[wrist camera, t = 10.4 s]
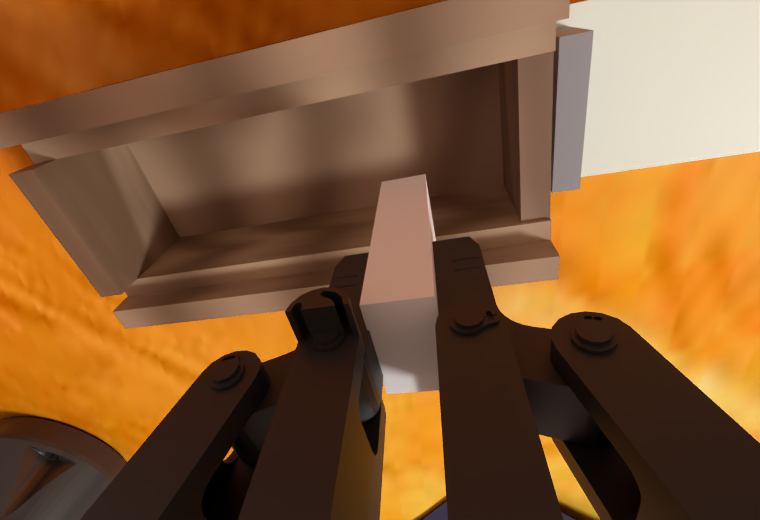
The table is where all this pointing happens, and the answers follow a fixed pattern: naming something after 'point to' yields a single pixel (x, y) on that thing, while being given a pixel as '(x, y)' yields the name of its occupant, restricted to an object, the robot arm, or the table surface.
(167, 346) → the table surface
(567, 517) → the dark blue flat slab
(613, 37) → the lid
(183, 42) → the table surface
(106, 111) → the box
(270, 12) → the table surface
